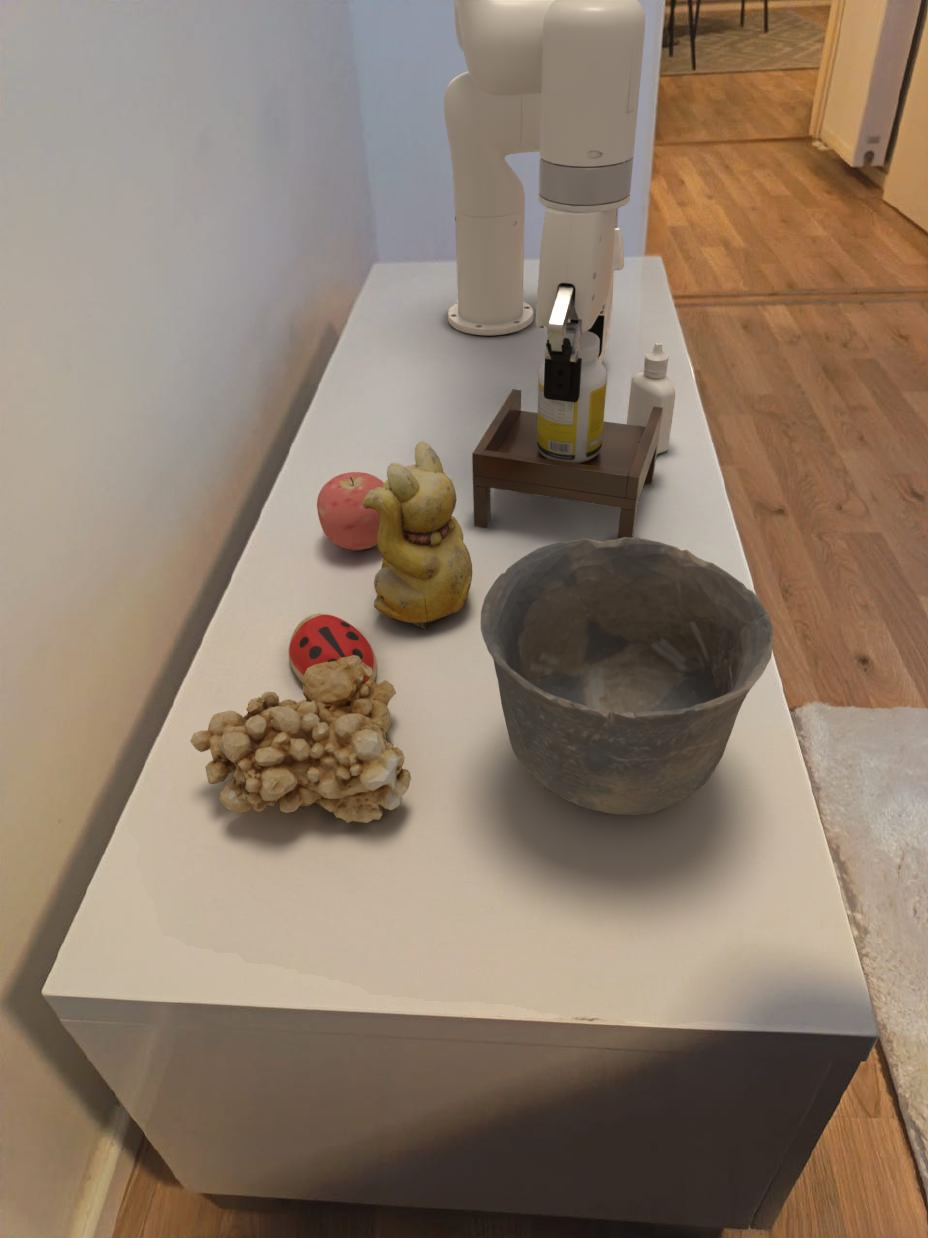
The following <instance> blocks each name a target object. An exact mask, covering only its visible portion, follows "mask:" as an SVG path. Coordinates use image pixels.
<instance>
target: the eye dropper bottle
mask: <svg viewBox="0 0 928 1238" xmlns="http://www.w3.org/2000/svg"><path fill="white" fill-rule="evenodd" d="M668 364H669V354H667V353H665V352H663V343H662V342H655V343H654V346H653V349H652V351H650V352H648V353H646V354H645V357H644V365H643V371H639V372H637V373H635V374H634V375H633V376H632V378H631V382H630V388H629V398H628V407H627V417H626V424H627V425H635V426H643V427H646V425H647V423H648V420H649V417H650V414H651V411H652V409H653V407H662V408H663V411H662V419H661V426H660V434H659V441H658V449H657V455H659V454H662V453H665V452H666V451H668V450H669V444H670V439H671V438H670V437H671V431H672V425H673V415H674V410H675V409H674V408H675V402H676V401H675V400H676V389H675V387H674V384H673V382H672V380H671V379H670V378H669V377H668V376H667V371H668Z"/></svg>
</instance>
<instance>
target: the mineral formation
mask: <svg viewBox="0 0 928 1238" xmlns="http://www.w3.org/2000/svg"><path fill="white" fill-rule="evenodd" d="M372 674H373V673H372V668H371V667H369V666H367V665H366V664H364V663H363V662H362V661H361V659H360V657H359V656H355V655H353V656H349V657H343V658H339V660H338V661H332V662H324V663H320V664H316V665H313V666H311V667H309V668H307V670H306V672H305V674H304V678H303V683H302V682H301V683H302V693H303V696H304V698H305V699H302V700H301V701H299V702H297V701H295V700H293V699H285V700H282V701H280V696H279V695H278V694H277V693H276V692H274V691H266V692H263V693H262V694H261V696H260V697H259V696H258V697H254V698H252V699H250V700H249V702H248V703H247V707H246V708H245V710H246V711H247V713H246V714H245V715H244V716H243V715H241V714H240V713H239V712H237V711H235V710H227V711H221V712H218V713H215V714H213V715H212V716H211V718H210V720H209V723H208V727H207V730H199V731H196V732H193V734H192V737H191V739H190V741H189V742H190V743H191V745H192V746H193V747H194V748H195V750H196V751H198V752H200V753H204V752H206V751H207V752H208V751H209V750H210V755H211V757H212V760H211V761H209V762H208V763H207V764H206V765H205V773H206V777H207V781H208V783H209V784H210V785H216V784H219V783H222V782H224V781H225V780H226V779H227V778H228V777H229V775H230V774H231V773H232V776H233V777H232V779H231V781H229V782H227V783H226V785H225V786H224V787H223V789H222V790H221V791H220V792H219V793H218V795H219V802H220V803H221V804H222V805H223V806H224V807H225V809H227V810H229V811H230V812H232V813H237V814H240V813H247V812H249V811H250V810H252V809H253V811H254V812H255V811H256V812H258V813H259V812H262V811H264V810H266V807H267V806H272V807H274V806H275V805H276V803H277V802H279V811H280V812H282V813H285V814H286V813H287V814H289V813H293V812H295V811H297V810H298V809H299V807H309V806H311V805H312V804H318V805H320V806H321V807H322V808H323V809H325V810H326V811H327V812H329V813H333V814H334V817H335V818H337V819H341V820H343V821H345V822H346V823H347V824H349V823H351V822H358V823H363V824H364V823H366V824H368V823H370V822H371V821H375V820H376V821H380V820H381V818H382V816H383V813H384V812H383V808H384V809H386V810H388V811H389V810H390V811H392V810H395V809H396V808H398V807H400V805H401V803H402V797H403V796H404V795H405V794H406V793H408V792H407V791H408V789H409V787H410V783H411V780H412V778H411V772H410V771H409V769H406V768H403V765H404V762H405V754H404V752H403V750H401V749H400V748H399V747H398V746H394V744H393V743H390V742H388V740H387V735H386V734H387V733H388V731H389V729H390V727H391V725H392V724H393V723H392V722H393V721H392V715H391V712H390V709H389V707H388V706H389V702H390V701H391V699H392V698H393V697H395V695H396V694H397V692H396V689H395V686H394V685H393V684H392V683H391V682H390V681H388V680H383V681H381V682H380V683H378V684H377V683H376V682H375V680H374V681H367V682H366V683H364V680H365V678H366V677H367V676H371V675H372Z"/></svg>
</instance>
